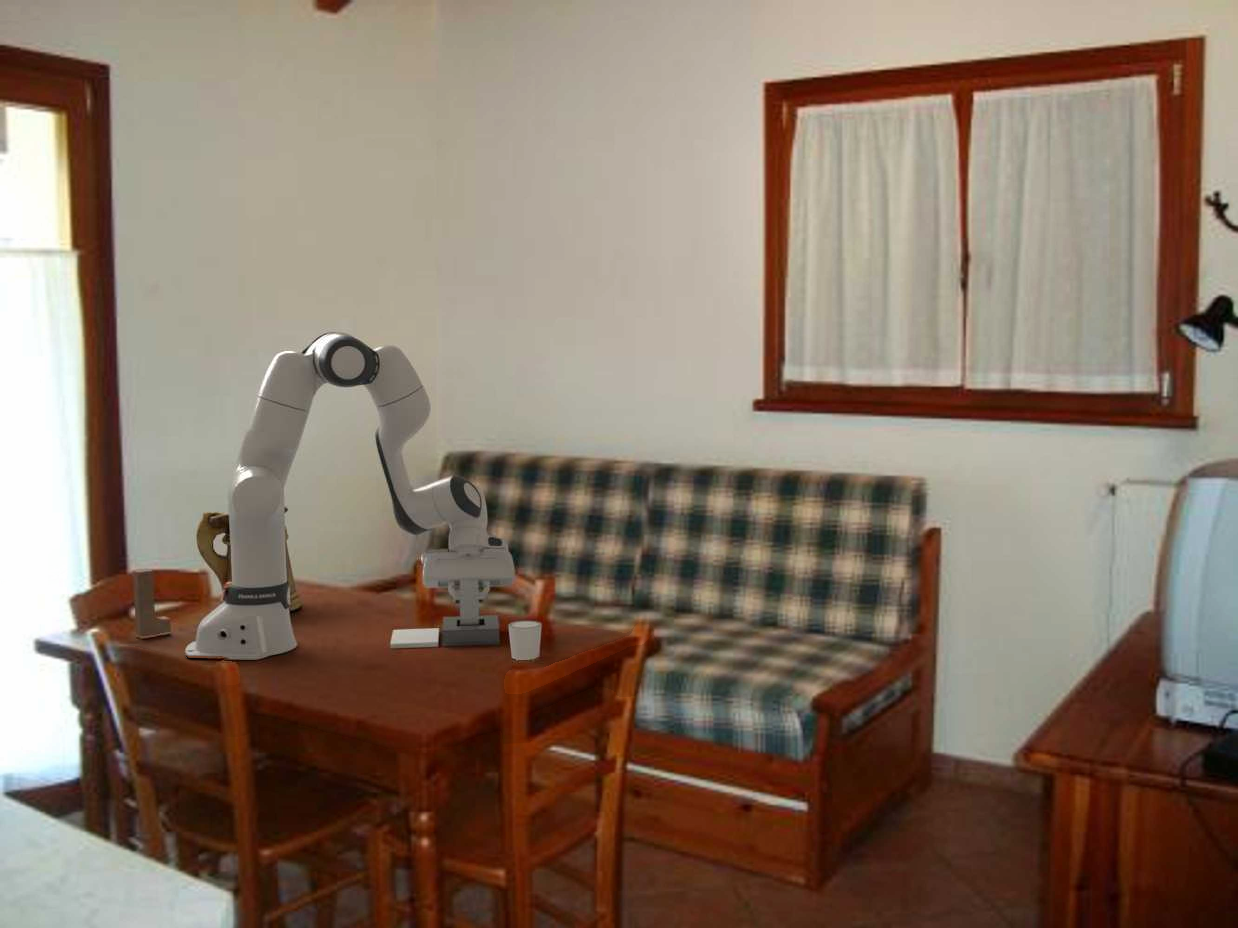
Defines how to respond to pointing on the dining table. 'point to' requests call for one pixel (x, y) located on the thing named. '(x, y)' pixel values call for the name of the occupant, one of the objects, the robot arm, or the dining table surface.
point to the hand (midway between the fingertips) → (469, 601)
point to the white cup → (525, 639)
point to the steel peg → (469, 602)
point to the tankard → (221, 564)
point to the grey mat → (415, 638)
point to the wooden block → (147, 605)
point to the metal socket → (471, 632)
